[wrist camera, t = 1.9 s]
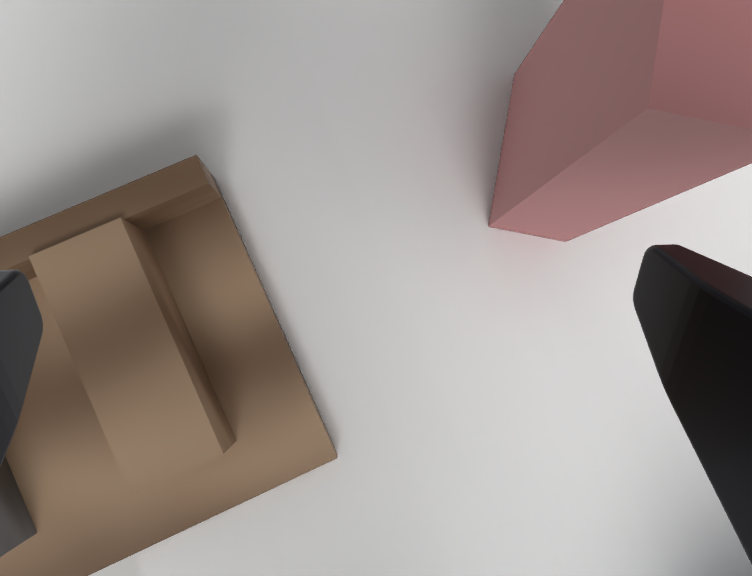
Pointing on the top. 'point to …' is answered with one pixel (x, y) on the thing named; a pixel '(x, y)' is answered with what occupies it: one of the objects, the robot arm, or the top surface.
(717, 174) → the dusty red block
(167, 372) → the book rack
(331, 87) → the top surface
